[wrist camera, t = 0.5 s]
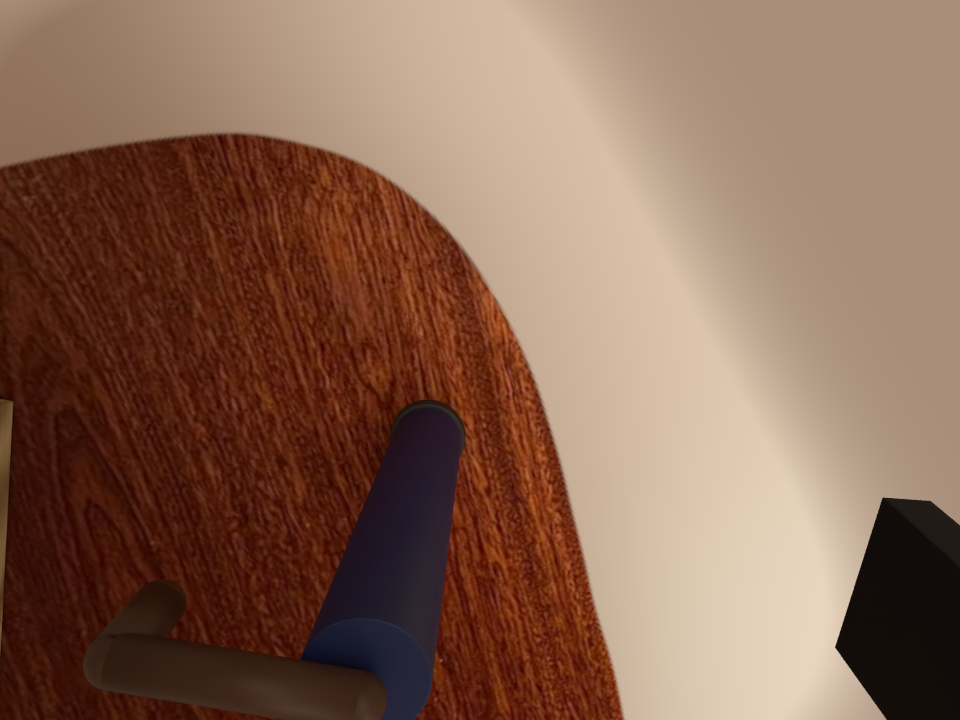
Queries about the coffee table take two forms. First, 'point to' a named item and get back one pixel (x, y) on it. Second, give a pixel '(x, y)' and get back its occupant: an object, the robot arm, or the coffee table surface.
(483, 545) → the coffee table surface
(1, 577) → the rack
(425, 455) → the umbrella
